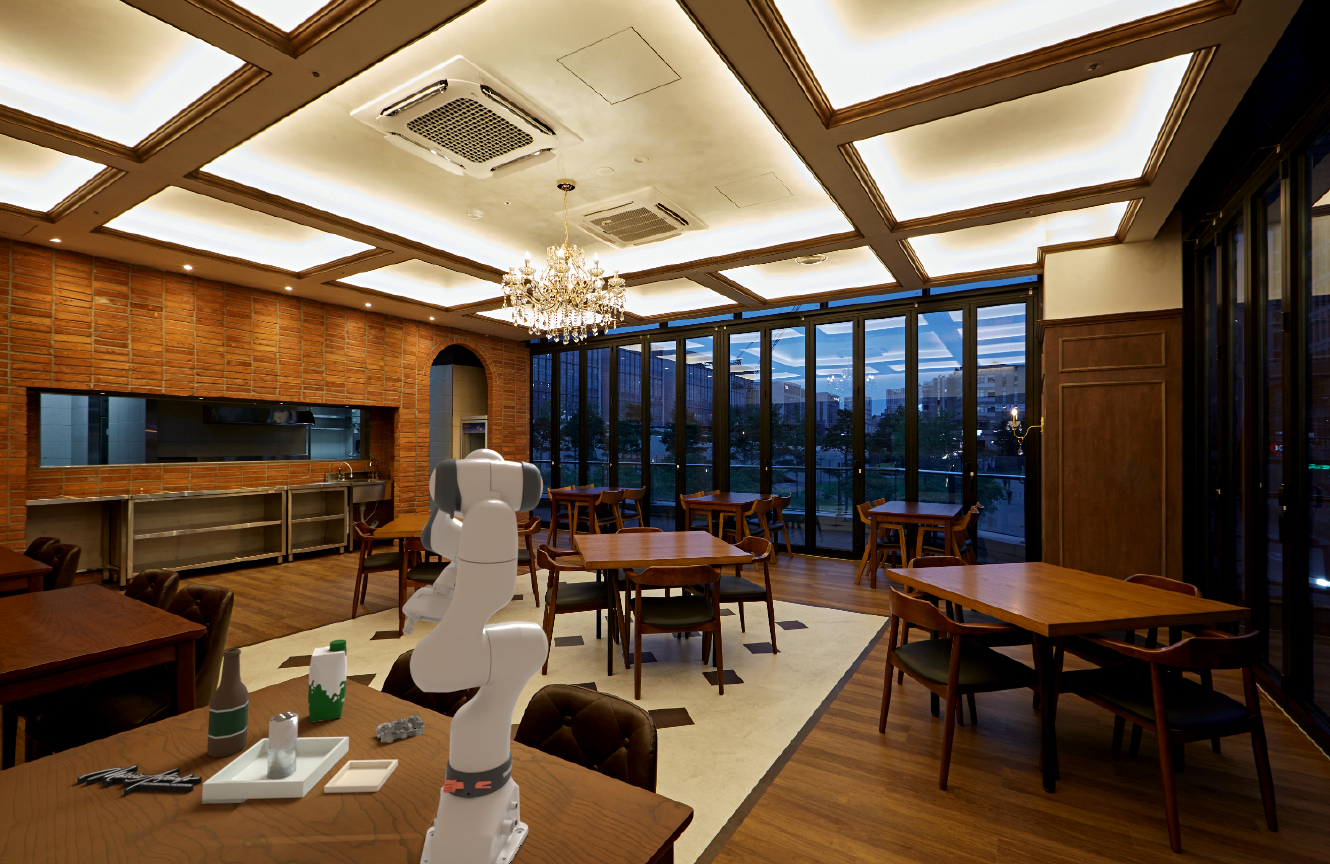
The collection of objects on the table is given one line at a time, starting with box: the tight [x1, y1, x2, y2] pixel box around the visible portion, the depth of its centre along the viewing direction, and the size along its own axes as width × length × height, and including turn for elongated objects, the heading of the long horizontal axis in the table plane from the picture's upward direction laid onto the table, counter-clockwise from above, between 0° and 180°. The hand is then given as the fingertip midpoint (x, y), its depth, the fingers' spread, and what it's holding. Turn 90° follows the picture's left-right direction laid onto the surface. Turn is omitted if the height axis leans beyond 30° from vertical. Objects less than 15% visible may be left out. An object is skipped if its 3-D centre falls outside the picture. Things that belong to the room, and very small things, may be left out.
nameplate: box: [76, 764, 203, 797], centre depth 128 cm, size 27×2×10 cm
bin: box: [201, 736, 350, 805], centre depth 131 cm, size 20×20×4 cm
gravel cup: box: [267, 710, 299, 779], centre depth 132 cm, size 6×6×13 cm
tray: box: [323, 759, 399, 794], centre depth 130 cm, size 11×11×2 cm
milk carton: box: [307, 639, 348, 722], centre depth 163 cm, size 9×9×20 cm
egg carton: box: [375, 713, 426, 744], centre depth 151 cm, size 11×8×4 cm
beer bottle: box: [207, 648, 250, 759], centre depth 144 cm, size 8×8×24 cm
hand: (418, 635), depth 143 cm, fingers open, 8 cm apart
